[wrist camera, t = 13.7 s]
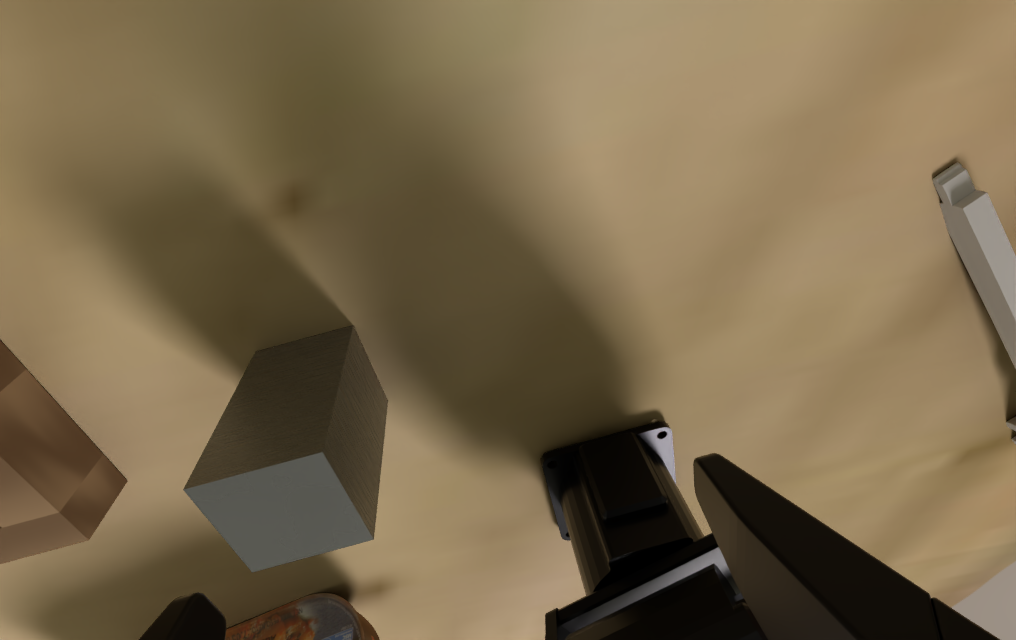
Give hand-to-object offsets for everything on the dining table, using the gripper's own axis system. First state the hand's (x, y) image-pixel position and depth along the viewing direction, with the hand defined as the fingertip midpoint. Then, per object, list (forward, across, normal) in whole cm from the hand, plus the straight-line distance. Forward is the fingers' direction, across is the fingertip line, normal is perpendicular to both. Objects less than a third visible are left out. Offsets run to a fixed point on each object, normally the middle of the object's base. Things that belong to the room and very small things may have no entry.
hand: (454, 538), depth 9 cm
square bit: (+12, +6, +4) cm, 14 cm away
